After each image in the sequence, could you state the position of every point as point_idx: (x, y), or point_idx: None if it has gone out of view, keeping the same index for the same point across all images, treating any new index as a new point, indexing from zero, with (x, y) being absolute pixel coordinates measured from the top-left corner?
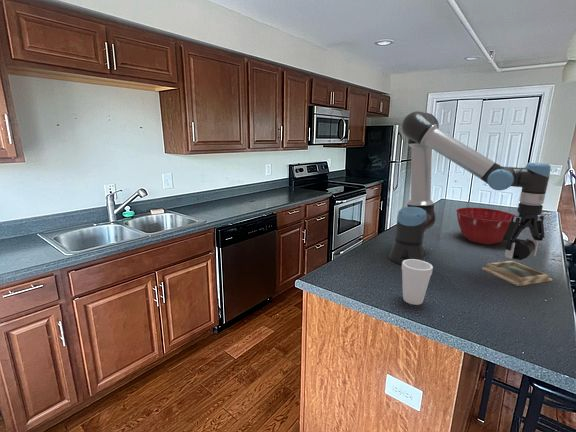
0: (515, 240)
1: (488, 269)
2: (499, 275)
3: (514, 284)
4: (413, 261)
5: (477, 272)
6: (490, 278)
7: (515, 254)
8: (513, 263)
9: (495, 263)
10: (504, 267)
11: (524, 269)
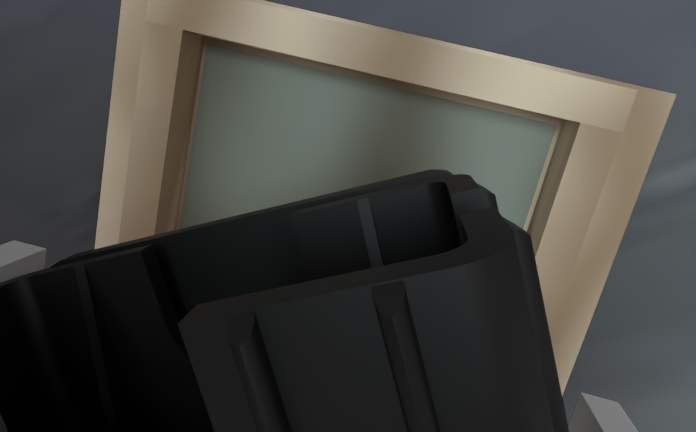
0: (209, 402)
1: (141, 48)
2: (101, 205)
3: None
4: None
5: (11, 11)
6: (8, 171)
7: (39, 415)
8: (568, 133)
9: (271, 35)
10: (373, 115)
11: None
